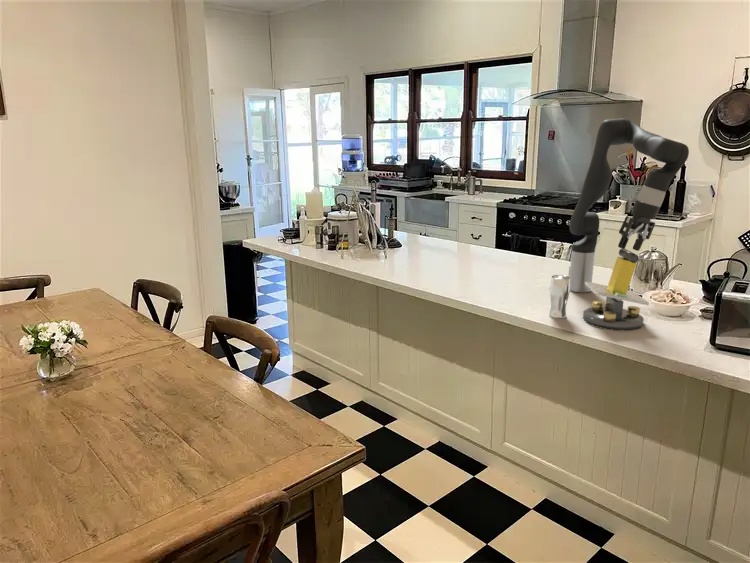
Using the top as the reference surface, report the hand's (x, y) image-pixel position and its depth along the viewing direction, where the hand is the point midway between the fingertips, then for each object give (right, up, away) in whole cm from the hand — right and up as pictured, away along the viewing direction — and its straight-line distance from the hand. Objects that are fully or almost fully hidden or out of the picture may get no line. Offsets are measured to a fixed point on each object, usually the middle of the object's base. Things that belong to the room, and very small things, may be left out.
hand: (628, 249), depth 183 cm
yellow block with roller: (+2, -15, +13) cm, 20 cm away
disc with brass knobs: (+2, -25, +16) cm, 30 cm away
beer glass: (-16, -24, +22) cm, 36 cm away
